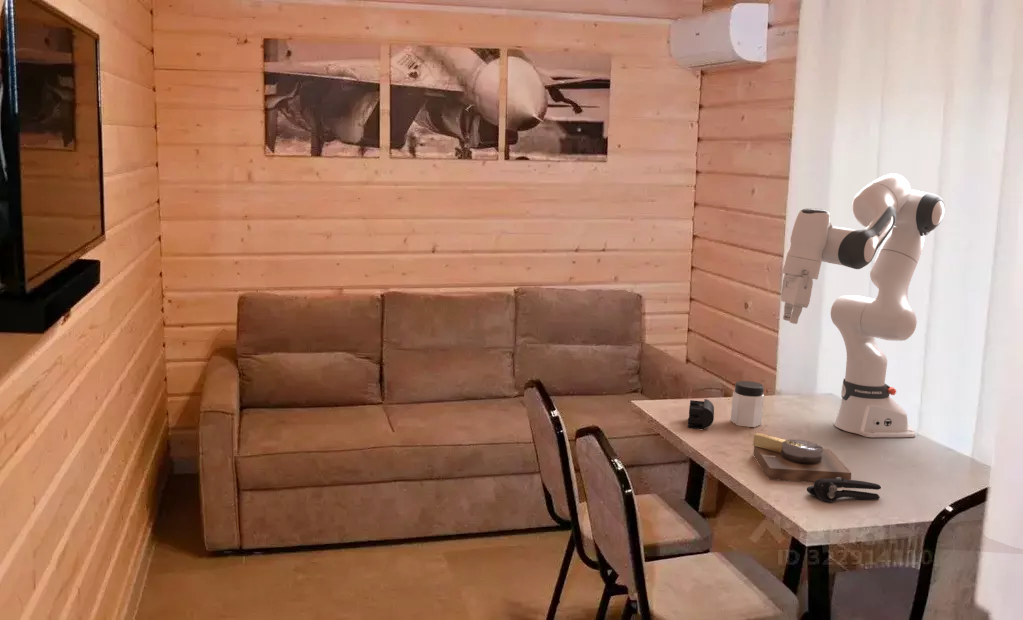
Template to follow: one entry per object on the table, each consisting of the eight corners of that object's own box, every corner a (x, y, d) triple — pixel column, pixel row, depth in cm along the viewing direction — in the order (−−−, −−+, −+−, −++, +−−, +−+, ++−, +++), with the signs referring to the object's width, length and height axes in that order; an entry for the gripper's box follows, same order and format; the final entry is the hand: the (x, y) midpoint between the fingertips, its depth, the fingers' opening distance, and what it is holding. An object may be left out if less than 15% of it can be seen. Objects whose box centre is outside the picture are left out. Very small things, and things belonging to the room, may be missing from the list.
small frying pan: (828, 457, 243) (829, 446, 242) (811, 466, 236) (812, 455, 235) (763, 440, 255) (765, 429, 254) (745, 448, 247) (746, 437, 247)
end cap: (712, 431, 272) (714, 408, 270) (687, 428, 273) (689, 406, 272) (712, 421, 281) (714, 399, 280) (688, 419, 283) (690, 397, 281)
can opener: (816, 505, 220) (819, 482, 219) (803, 494, 227) (805, 471, 226) (887, 505, 222) (890, 482, 221) (872, 493, 229) (875, 471, 228)
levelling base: (828, 459, 252) (829, 448, 251) (850, 484, 234) (851, 472, 233) (753, 455, 252) (754, 444, 252) (768, 479, 235) (770, 467, 234)
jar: (765, 427, 277) (769, 388, 275) (739, 428, 275) (743, 388, 273) (751, 418, 286) (755, 380, 284) (726, 419, 284) (730, 380, 282)
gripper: (822, 273, 235) (809, 327, 236) (805, 271, 255) (794, 321, 256) (797, 268, 235) (784, 322, 237) (782, 266, 256) (771, 316, 257)
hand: (789, 321), depth 247 cm, fingers open, 8 cm apart
